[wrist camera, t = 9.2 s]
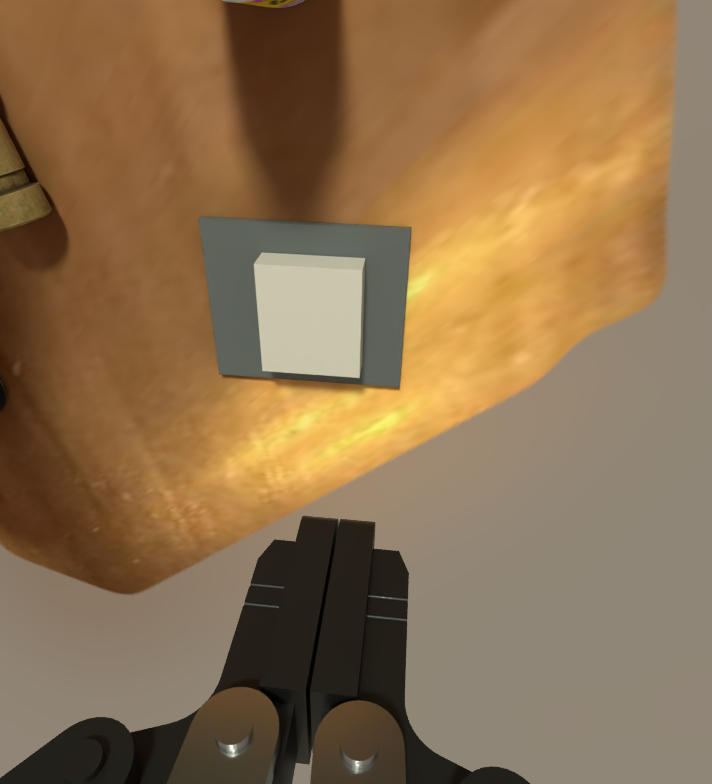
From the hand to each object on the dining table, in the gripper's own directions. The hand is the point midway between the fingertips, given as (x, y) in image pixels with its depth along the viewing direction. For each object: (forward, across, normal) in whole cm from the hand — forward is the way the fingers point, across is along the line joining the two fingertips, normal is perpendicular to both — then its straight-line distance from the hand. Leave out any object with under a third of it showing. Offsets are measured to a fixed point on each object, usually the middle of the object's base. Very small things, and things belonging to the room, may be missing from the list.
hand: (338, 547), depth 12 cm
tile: (+27, +9, +8) cm, 30 cm away
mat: (+29, +6, +8) cm, 31 cm away
